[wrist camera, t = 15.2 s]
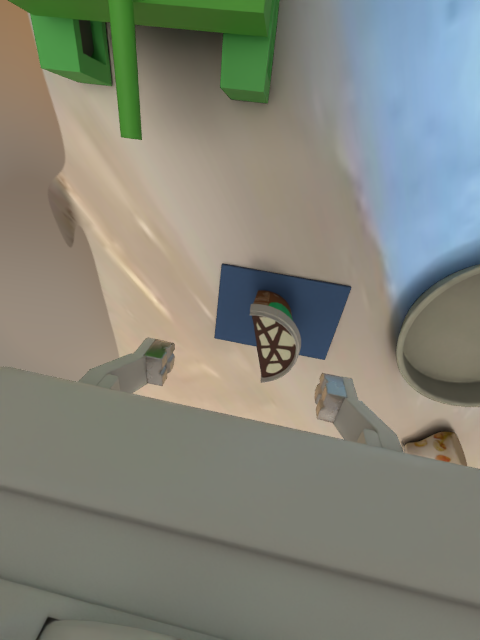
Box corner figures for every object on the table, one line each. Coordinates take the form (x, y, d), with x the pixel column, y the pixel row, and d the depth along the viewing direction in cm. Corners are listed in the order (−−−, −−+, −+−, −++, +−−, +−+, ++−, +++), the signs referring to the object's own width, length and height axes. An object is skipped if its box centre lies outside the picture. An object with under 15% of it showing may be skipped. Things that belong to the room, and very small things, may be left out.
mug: (390, 437, 56) (429, 466, 46) (428, 412, 57) (475, 436, 47) (405, 466, 57) (447, 501, 47) (443, 441, 58) (492, 470, 48)
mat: (350, 286, 42) (351, 287, 41) (324, 358, 49) (324, 360, 48) (222, 263, 43) (221, 264, 42) (215, 336, 50) (214, 338, 50)
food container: (301, 344, 47) (304, 384, 39) (265, 346, 49) (260, 385, 40) (296, 277, 42) (298, 307, 33) (256, 281, 43) (248, 311, 34)
